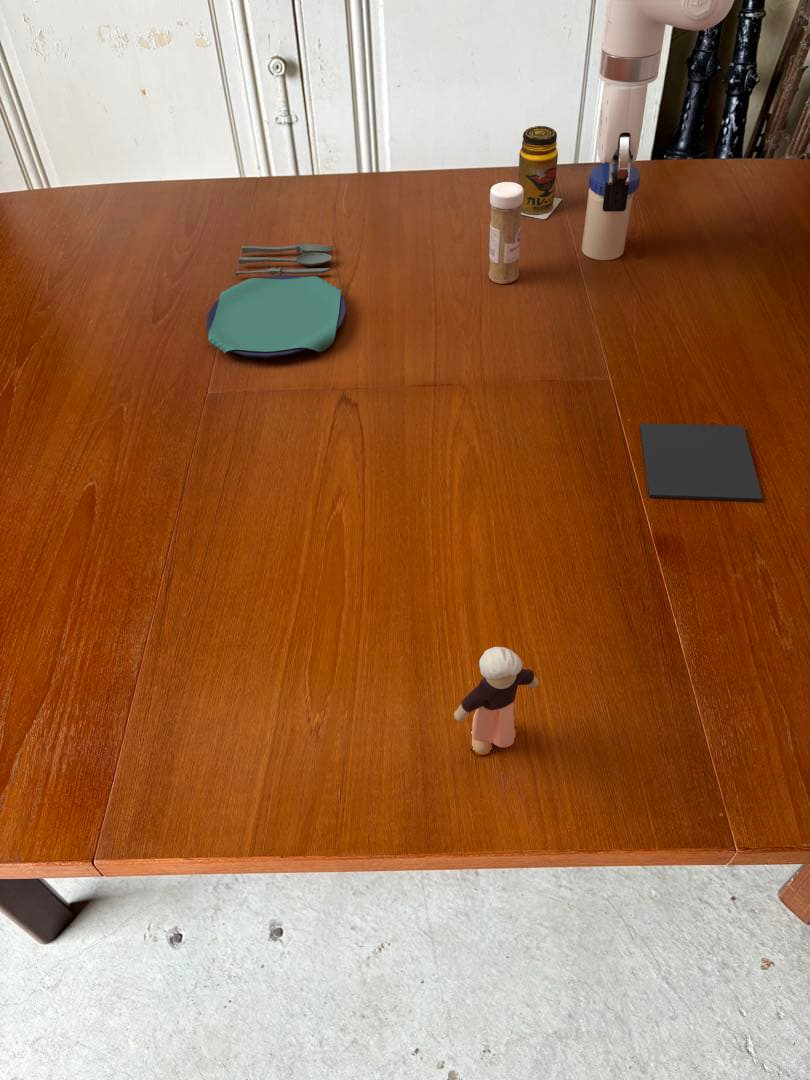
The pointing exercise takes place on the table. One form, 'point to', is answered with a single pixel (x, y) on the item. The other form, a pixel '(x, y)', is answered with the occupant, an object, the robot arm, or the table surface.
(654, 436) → the mat
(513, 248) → the spice bottle
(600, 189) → the lid
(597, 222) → the jar
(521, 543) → the table surface
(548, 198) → the condiment
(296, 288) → the cutlery set
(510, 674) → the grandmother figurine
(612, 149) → the robot arm
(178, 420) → the table surface
